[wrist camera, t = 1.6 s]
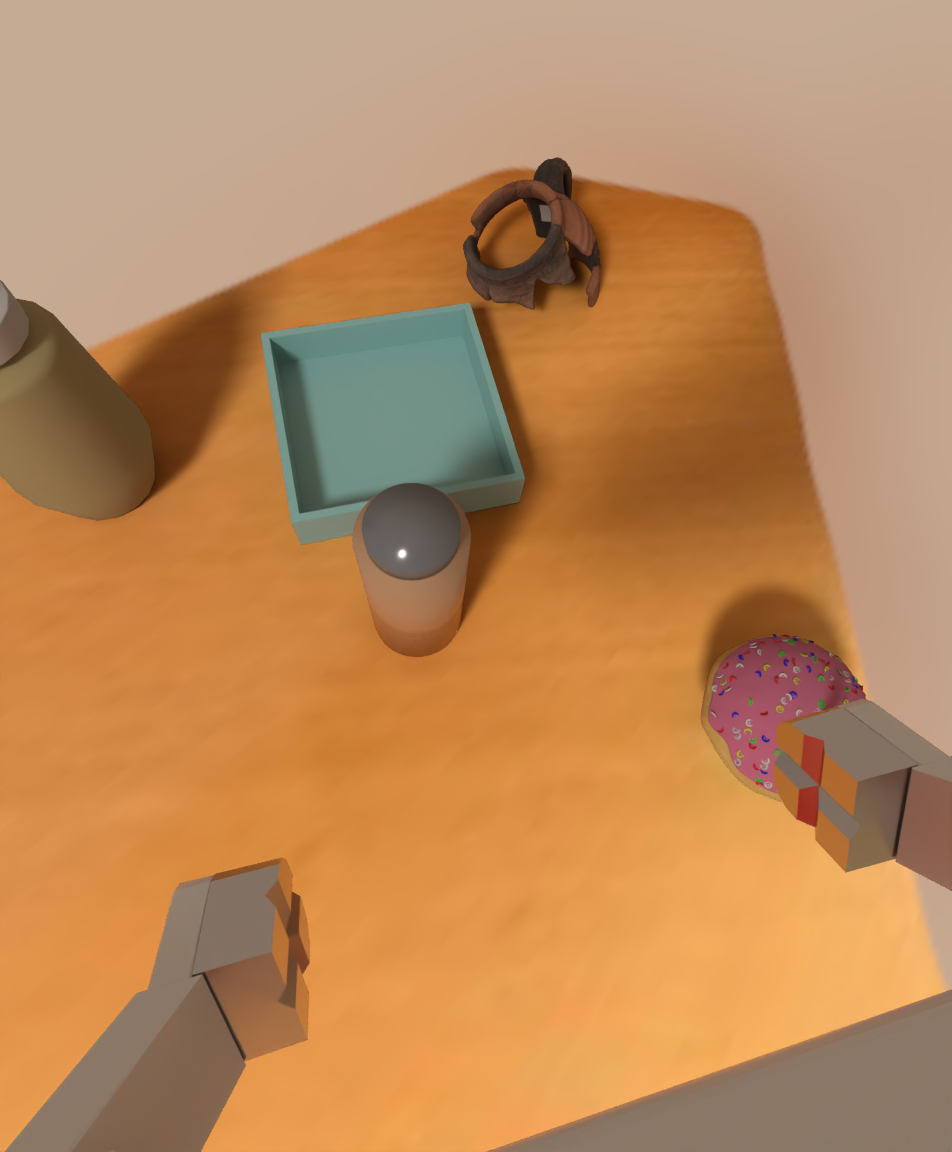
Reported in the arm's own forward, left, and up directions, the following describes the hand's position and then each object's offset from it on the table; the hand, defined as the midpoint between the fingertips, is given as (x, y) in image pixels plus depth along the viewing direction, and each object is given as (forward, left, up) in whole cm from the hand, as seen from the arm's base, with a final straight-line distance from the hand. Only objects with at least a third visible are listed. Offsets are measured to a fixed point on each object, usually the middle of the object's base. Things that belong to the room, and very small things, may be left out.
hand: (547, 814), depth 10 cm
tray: (+1, +25, -26) cm, 36 cm away
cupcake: (+17, +1, -26) cm, 31 cm away
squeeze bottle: (-17, +25, -26) cm, 40 cm away
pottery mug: (+14, +37, -26) cm, 47 cm away
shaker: (0, +12, -26) cm, 29 cm away
